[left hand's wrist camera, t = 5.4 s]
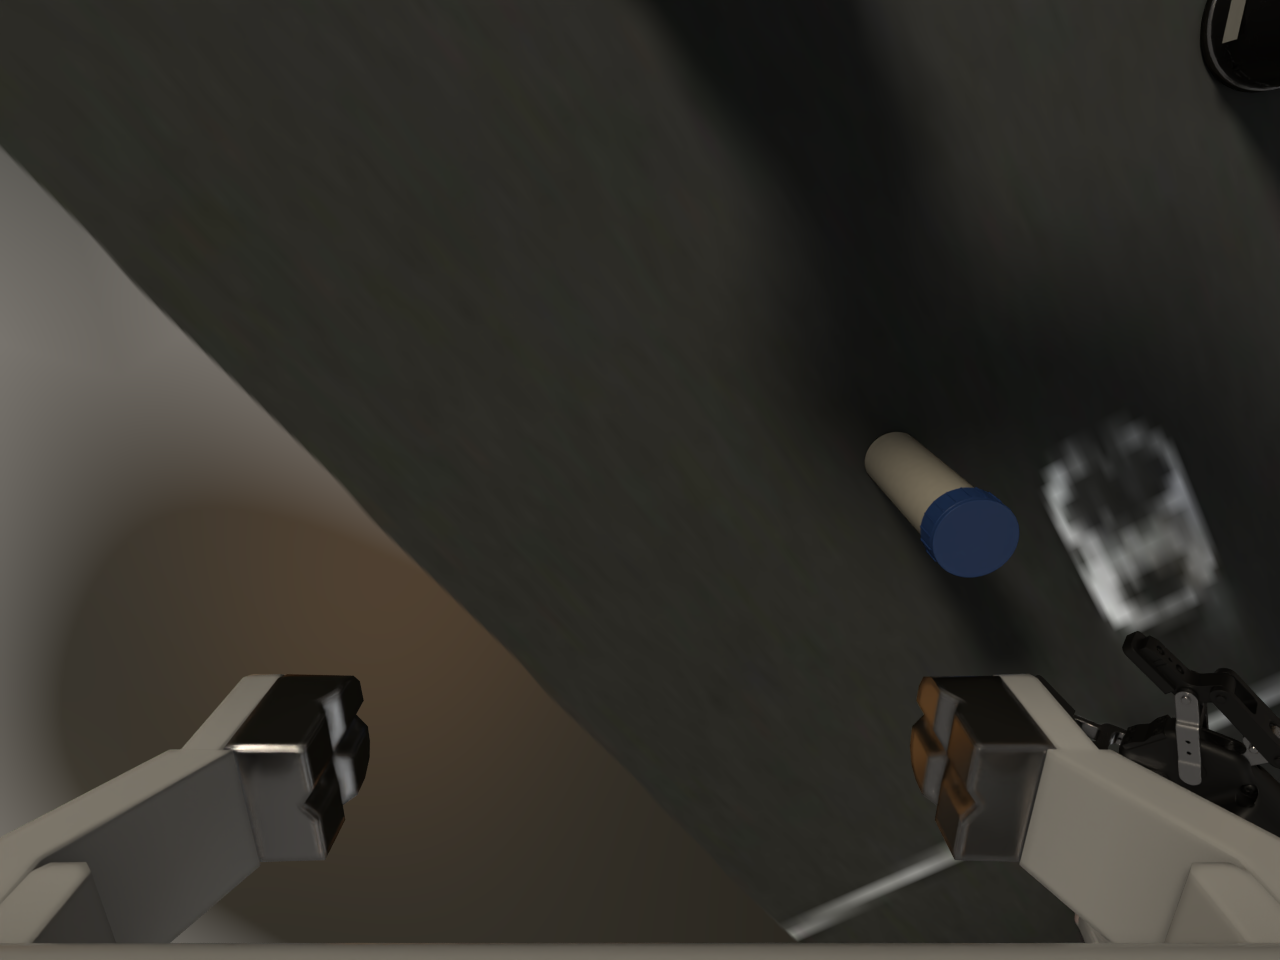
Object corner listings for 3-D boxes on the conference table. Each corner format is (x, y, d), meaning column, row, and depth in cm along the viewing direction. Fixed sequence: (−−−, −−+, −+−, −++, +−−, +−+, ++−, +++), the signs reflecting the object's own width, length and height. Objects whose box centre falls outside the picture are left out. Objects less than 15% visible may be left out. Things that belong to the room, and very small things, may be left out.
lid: (902, 520, 47) (914, 535, 45) (976, 469, 46) (992, 481, 44) (947, 577, 48) (960, 594, 46) (1019, 529, 47) (1036, 544, 45)
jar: (853, 455, 60) (920, 532, 45) (901, 420, 59) (986, 486, 44) (885, 496, 61) (960, 583, 47) (933, 462, 60) (1024, 540, 46)
